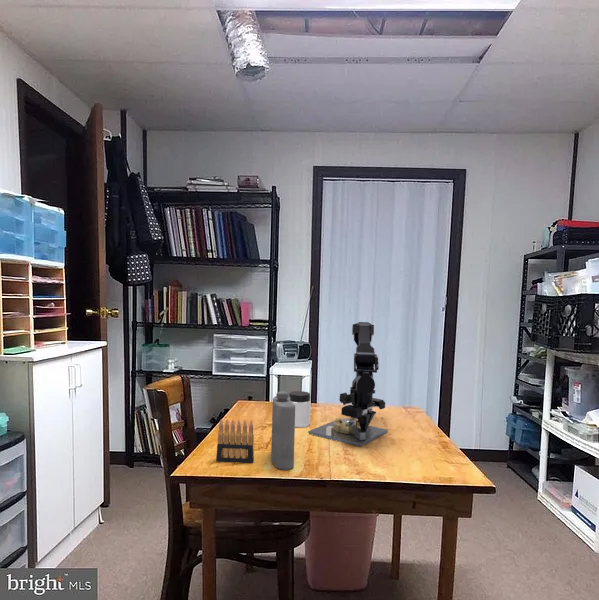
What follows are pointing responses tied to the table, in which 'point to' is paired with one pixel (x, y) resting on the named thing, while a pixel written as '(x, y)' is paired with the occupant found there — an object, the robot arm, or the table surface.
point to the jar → (301, 407)
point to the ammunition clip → (236, 450)
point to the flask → (283, 431)
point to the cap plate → (330, 433)
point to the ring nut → (349, 428)
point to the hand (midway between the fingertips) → (363, 432)
